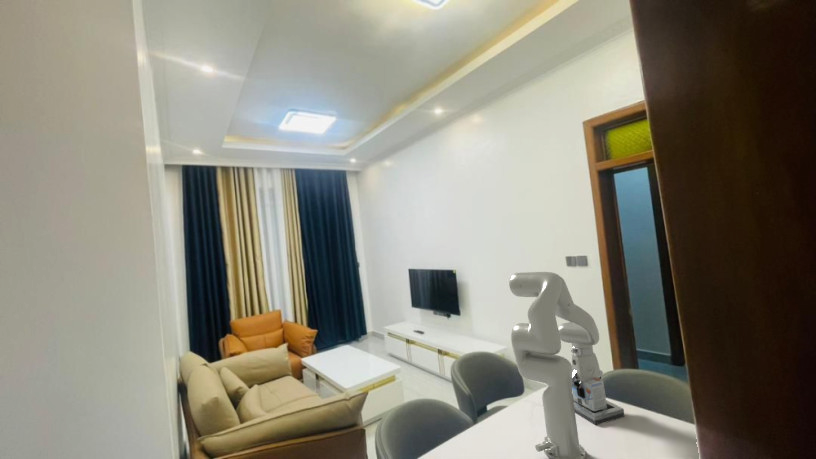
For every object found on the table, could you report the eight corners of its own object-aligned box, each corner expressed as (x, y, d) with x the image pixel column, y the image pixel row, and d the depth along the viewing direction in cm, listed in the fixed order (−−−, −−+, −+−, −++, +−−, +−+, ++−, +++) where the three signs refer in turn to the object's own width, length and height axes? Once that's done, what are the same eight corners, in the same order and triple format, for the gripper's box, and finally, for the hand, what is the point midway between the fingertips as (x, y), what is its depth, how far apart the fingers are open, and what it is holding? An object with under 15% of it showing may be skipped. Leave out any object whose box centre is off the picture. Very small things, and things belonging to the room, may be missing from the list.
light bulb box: (573, 400, 132) (569, 374, 132) (585, 397, 134) (582, 371, 134) (594, 412, 121) (590, 383, 122) (608, 408, 123) (604, 380, 124)
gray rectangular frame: (595, 425, 117) (594, 417, 117) (560, 403, 134) (559, 396, 135) (624, 416, 121) (623, 408, 121) (587, 396, 138) (586, 390, 138)
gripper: (572, 357, 123) (578, 403, 122) (607, 349, 128) (613, 394, 126) (558, 351, 131) (564, 395, 129) (592, 344, 135) (598, 387, 134)
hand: (588, 394), depth 128 cm, fingers closed on light bulb box, 6 cm apart
